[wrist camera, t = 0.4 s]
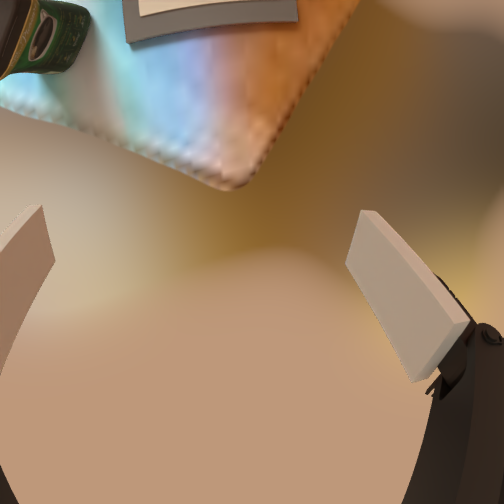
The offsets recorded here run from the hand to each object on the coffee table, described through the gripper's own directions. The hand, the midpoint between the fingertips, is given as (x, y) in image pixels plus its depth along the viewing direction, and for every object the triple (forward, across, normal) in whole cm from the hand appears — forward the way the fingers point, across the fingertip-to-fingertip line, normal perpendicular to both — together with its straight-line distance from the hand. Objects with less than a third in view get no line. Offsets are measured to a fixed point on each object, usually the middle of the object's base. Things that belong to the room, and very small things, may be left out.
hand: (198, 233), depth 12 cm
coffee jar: (+28, -20, +12) cm, 36 cm away
